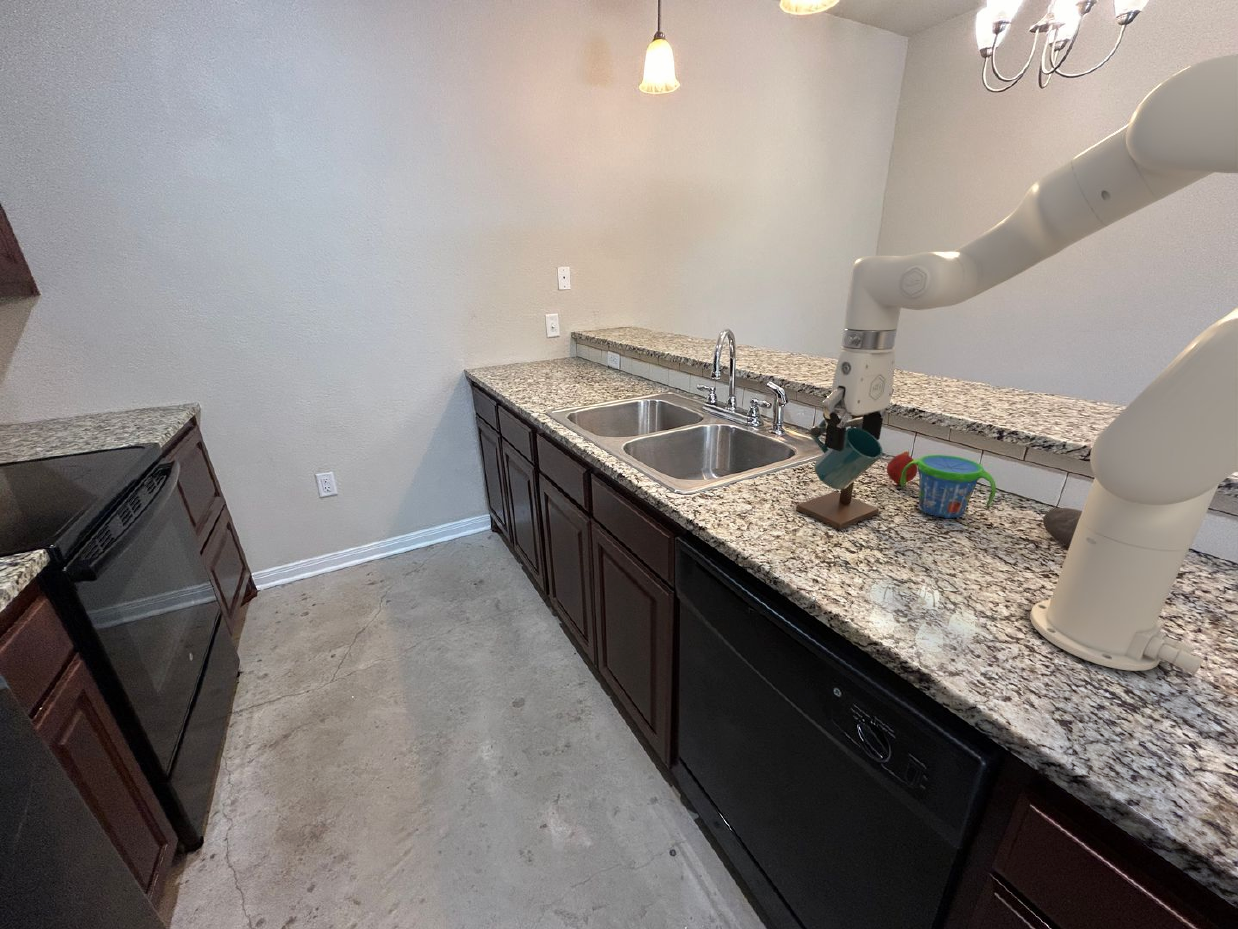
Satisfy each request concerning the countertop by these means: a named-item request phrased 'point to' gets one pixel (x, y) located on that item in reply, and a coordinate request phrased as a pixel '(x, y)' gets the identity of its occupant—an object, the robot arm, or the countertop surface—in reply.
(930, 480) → the snack cup
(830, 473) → the mug
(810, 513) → the mug rack
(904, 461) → the onion
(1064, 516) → the perforated stone tool
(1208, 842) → the countertop surface
